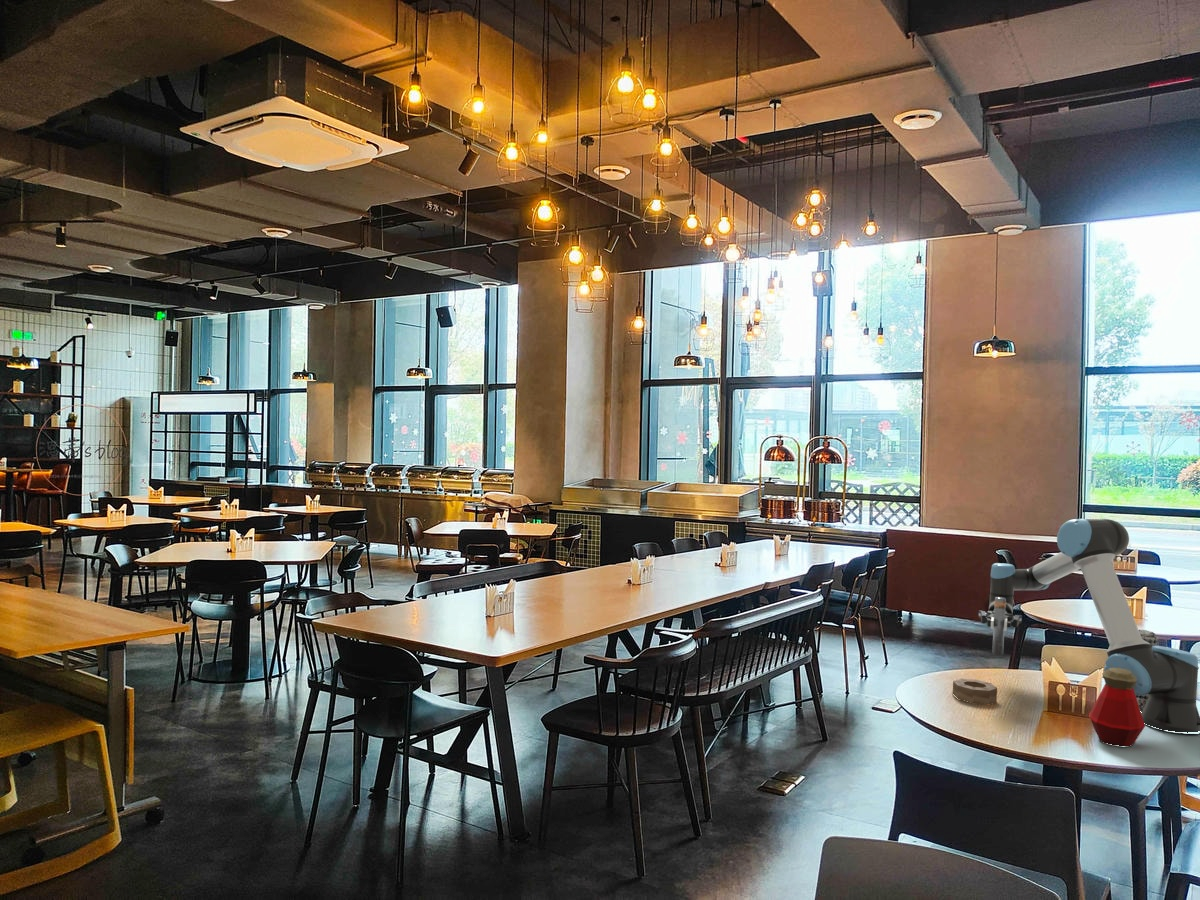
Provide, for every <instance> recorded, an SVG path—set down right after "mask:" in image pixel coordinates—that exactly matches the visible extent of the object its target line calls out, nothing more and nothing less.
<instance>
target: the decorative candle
mask: <svg viewBox="0 0 1200 900" xmlns="http://www.w3.org/2000/svg"><path fill="white" fill-rule="evenodd" d="M1138 630H1139V633H1140V635H1141V638H1142V639H1143V640H1144V641H1146V642H1148V643H1150V645H1151V647H1152V646H1158V641H1159V639H1160V638H1159V637H1158V636H1157V634H1156V633H1155V632H1154V631H1151V630H1146V629H1138ZM1135 696H1136V699H1137V702H1138V706H1139V709H1140V711H1141V712H1142V711H1143V708H1144V706H1145V704H1146V702H1147V700H1148V697H1149V694H1145V695H1141V696H1138V695H1135Z"/></svg>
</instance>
